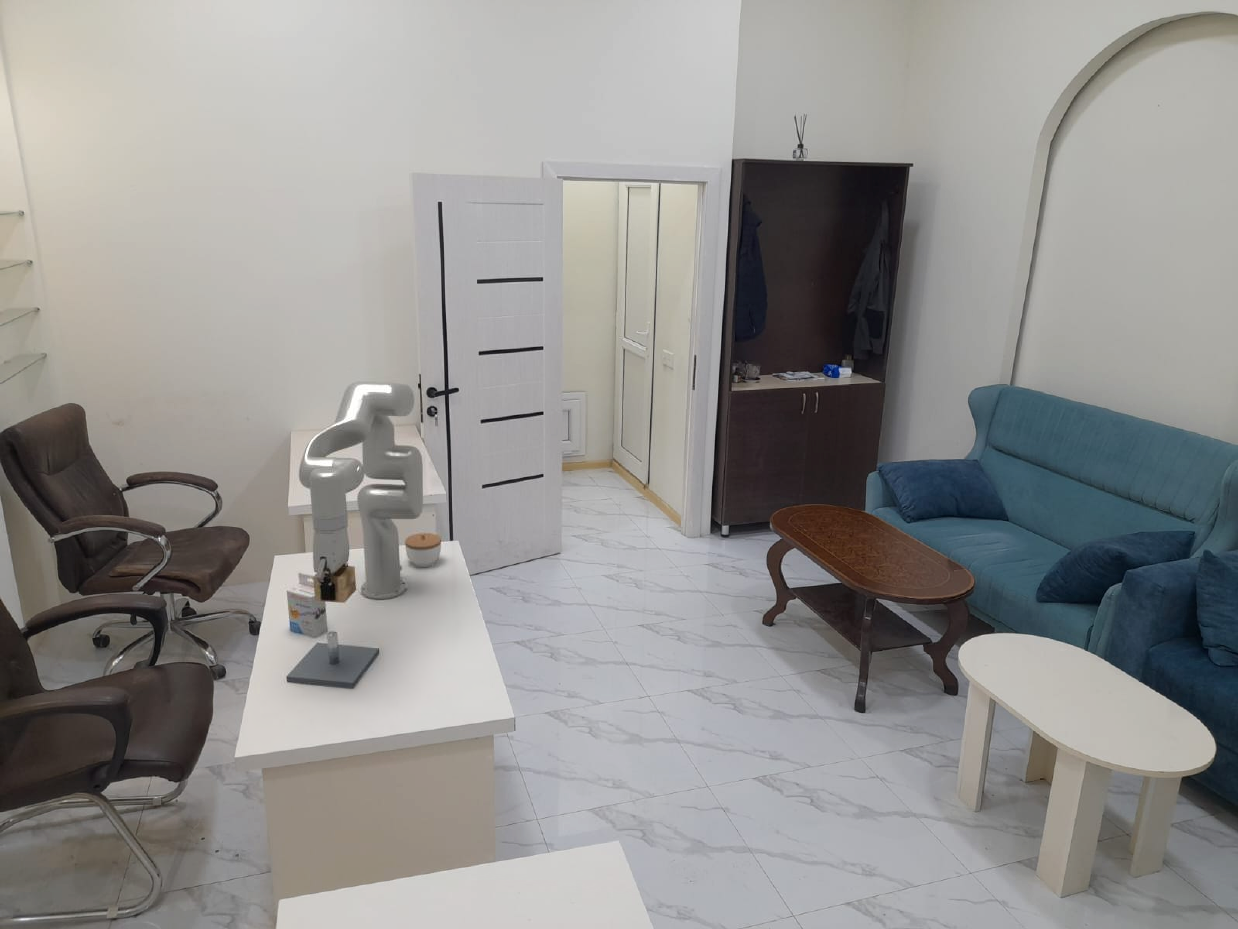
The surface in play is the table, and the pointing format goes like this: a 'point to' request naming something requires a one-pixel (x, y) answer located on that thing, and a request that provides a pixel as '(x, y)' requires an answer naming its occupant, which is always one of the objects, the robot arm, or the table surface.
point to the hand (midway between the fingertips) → (335, 591)
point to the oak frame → (339, 584)
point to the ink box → (306, 609)
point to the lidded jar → (423, 549)
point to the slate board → (333, 666)
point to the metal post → (333, 647)
